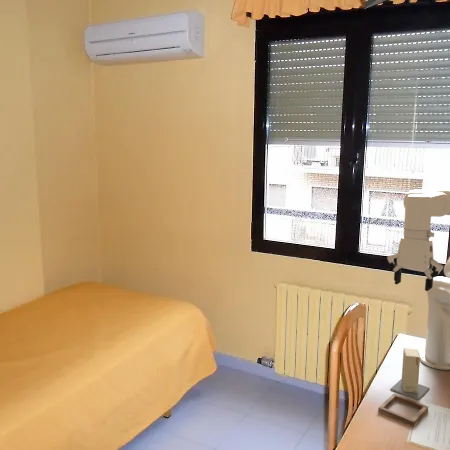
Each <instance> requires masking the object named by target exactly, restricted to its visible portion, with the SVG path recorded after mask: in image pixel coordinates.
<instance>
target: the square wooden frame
mask: <svg viewBox="0 0 450 450" xmlns="http://www.w3.org/2000/svg"><path fill="white" fill-rule="evenodd" d="M395 401H396V402H399V403H402V404H404V405H406V406H409V407H412V408H414V409H417V410H419V411H418V412H416V414H415V415H414V416H413V417H412V418H410V417H408V416H405V415H403V414H402V413H401V414H400V413H398V412H395V411H393V410H391V409H388V408H389V407H390V406H391V405H392V404H394V402H395ZM377 409H378V410H377V412H378V413H379V414H382V415H384V416H387V417H389V418H391V419H394V420H396V421H398V422H401V423H403V424H405V425H409V426H411V427H413V428H414V427H415V426H416V425H417V424H418V423H419V421H421V419H422V418H423V417H424V416H425V415H426V414H427V412H429V406H428V405H426V404H423V403H420V402H418V401H416V400H415V401H414V399H413V400H412V399H409V398H407V397H405V396H402V395H399V394H398V393H397V394H396V393H392V394H391V395H390V396H389V397H388V398H387V399H386V400H385V401H384V402H383V403H382V404H381V405H379V406H378V407H377Z"/></svg>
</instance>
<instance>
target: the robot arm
mask: <svg viewBox="0 0 450 450" xmlns="http://www.w3.org/2000/svg"><path fill="white" fill-rule="evenodd" d="M403 206H404V209H405V210H404V224H403V235H402V236H401V238H400V241H399V244H398V247H397V248H398V250H397V253H395V254H392V255H389V256H387V258H386V259H387V261H388V263H389V266H390V268H391V269H392V272H393V281H394V284H395V285H398V284H401V282H402V273H403V272H402V270H401V269H407V270H410V271H416V272H422V273H424V274H425V276H426V278H425V284H424V291H425V292H426V294H427V295H426V296H427V303H428V312H427V322H426V338H425V346H424V347H425V348H424V351H423V352H422V353H420V354H419V355H420V363H421V362H422V363H423V364H424V365H426V366H427V367H429V368H431V369H432V368H433V369H436V370H441V371H449V370H450V256H449V257H448V259H447V261H446V263H445V265H443V264H441V263H440V262H438V261H437V260H435V259H434V245H433V239H432V238H434V237H435V232H431V221H432V220H431V219H432V217H439V218H440V217H444V216H450V189H446V190H445V189H442V190H441V189H439V190H437V189H436V190H433V189H432V190H430V189H429V190H428V189H427V190H425V189H413V190H410V191H409V192H407V193H406V194H405V196H404V198H403ZM394 259H396V262H395V260H394ZM433 267H435V271H433V270H432V269H433ZM442 270H443V273H444V276H437V275H439V274H440V272H441V271H442Z"/></svg>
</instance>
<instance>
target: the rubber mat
mask: <svg viewBox="0 0 450 450" xmlns="http://www.w3.org/2000/svg"><path fill="white" fill-rule="evenodd" d="M389 390H390V391H392V392H395V393H397V394H400V395H401V396H402V395H403V396H404V397H405V396H406V397H409V398H411V399H413V400H415V401H419V400H420V399H421V398H423V396H425V395H426V393H427V392H428V391H430V387H429V386H425V385H422V384H420V383H418V393H414V392H405V391H404V390H403V387H402V378H401V379H399V380H398V381H397V382H396V383H395V384H394V385H393V386H392V387H390V389H389Z"/></svg>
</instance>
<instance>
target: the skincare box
mask: <svg viewBox="0 0 450 450" xmlns="http://www.w3.org/2000/svg"><path fill="white" fill-rule="evenodd" d="M402 352H403V354H402V355H403V356H402V370H401V379H402V387H403V390H404V391H405V392H414V393H418V384H419V380H420V379H419V378H420V366H421V365H420V363H421V360H420V355H421V354H420V353H419V350H418V349H416V348H407V347H406V348H405V347H404V348H403V351H402Z"/></svg>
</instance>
